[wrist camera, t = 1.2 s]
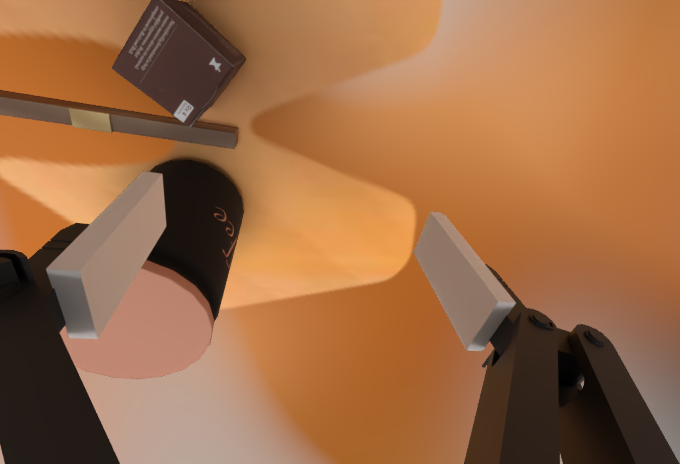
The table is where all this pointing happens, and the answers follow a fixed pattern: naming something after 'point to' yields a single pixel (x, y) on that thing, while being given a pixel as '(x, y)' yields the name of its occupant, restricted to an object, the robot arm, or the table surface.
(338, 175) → the table surface
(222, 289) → the coffee jar
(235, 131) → the brown angular bar frame
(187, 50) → the box
